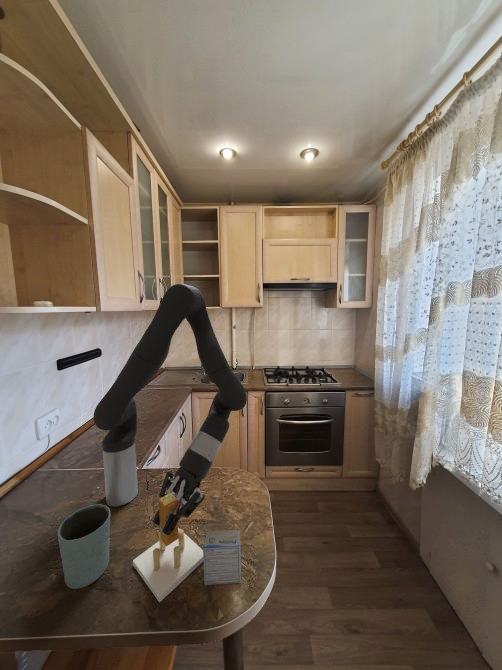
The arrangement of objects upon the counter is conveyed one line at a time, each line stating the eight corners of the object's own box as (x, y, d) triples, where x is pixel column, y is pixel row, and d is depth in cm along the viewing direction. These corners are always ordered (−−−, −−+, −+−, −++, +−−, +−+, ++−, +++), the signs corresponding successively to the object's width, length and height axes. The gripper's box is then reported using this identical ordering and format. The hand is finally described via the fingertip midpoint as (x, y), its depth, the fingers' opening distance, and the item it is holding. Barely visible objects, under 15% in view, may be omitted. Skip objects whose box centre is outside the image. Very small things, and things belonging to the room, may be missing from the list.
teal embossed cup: (85, 547, 63) (82, 502, 62) (123, 550, 62) (120, 504, 61) (49, 591, 53) (44, 538, 52) (93, 595, 52) (89, 541, 51)
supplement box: (166, 548, 56) (163, 505, 55) (160, 538, 58) (157, 498, 58) (180, 539, 58) (177, 498, 57) (173, 530, 61) (170, 491, 60)
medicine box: (241, 564, 58) (240, 528, 57) (241, 584, 53) (240, 546, 53) (207, 566, 57) (205, 530, 57) (204, 586, 53) (202, 548, 52)
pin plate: (133, 565, 58) (131, 544, 58) (178, 531, 67) (177, 512, 67) (159, 602, 50) (158, 578, 50) (206, 558, 59) (205, 537, 59)
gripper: (176, 440, 67) (134, 510, 59) (210, 457, 58) (165, 543, 50) (193, 450, 72) (156, 517, 63) (227, 468, 62) (189, 549, 54)
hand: (161, 528), depth 57 cm, fingers closed on supplement box, 3 cm apart
